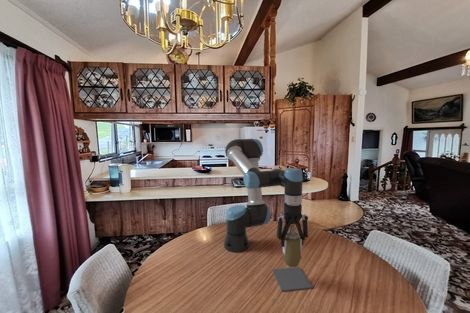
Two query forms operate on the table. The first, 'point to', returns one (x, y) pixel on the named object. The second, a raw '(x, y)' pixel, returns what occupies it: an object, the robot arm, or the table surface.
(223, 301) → the table surface
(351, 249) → the table surface
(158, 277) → the table surface
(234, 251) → the robot arm
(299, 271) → the mat
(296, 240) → the squeeze bottle
